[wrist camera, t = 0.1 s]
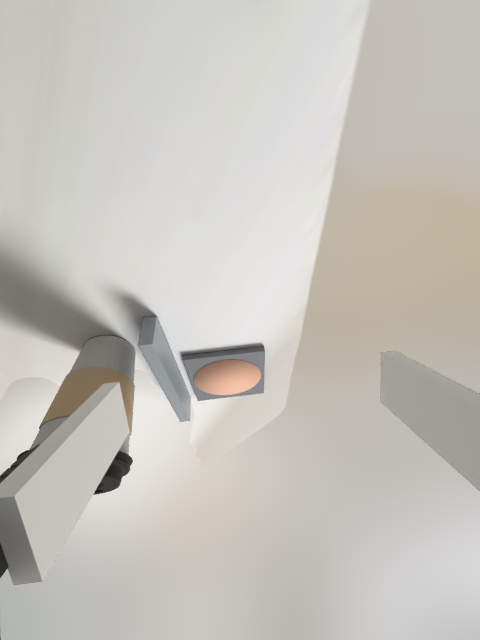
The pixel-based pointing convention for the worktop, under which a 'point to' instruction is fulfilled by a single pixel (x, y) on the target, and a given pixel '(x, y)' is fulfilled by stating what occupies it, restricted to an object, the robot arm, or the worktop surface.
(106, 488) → the coffee cup
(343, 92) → the worktop surface
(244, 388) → the mat
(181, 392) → the blue-grey rectangular bar
